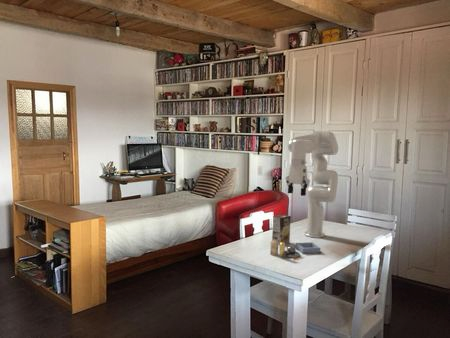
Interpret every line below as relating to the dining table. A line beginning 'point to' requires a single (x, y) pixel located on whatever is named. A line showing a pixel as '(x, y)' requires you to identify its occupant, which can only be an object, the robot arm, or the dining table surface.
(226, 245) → the dining table surface
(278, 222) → the coffee box
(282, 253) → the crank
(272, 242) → the stop peg
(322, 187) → the robot arm
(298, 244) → the tray
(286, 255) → the crank base
